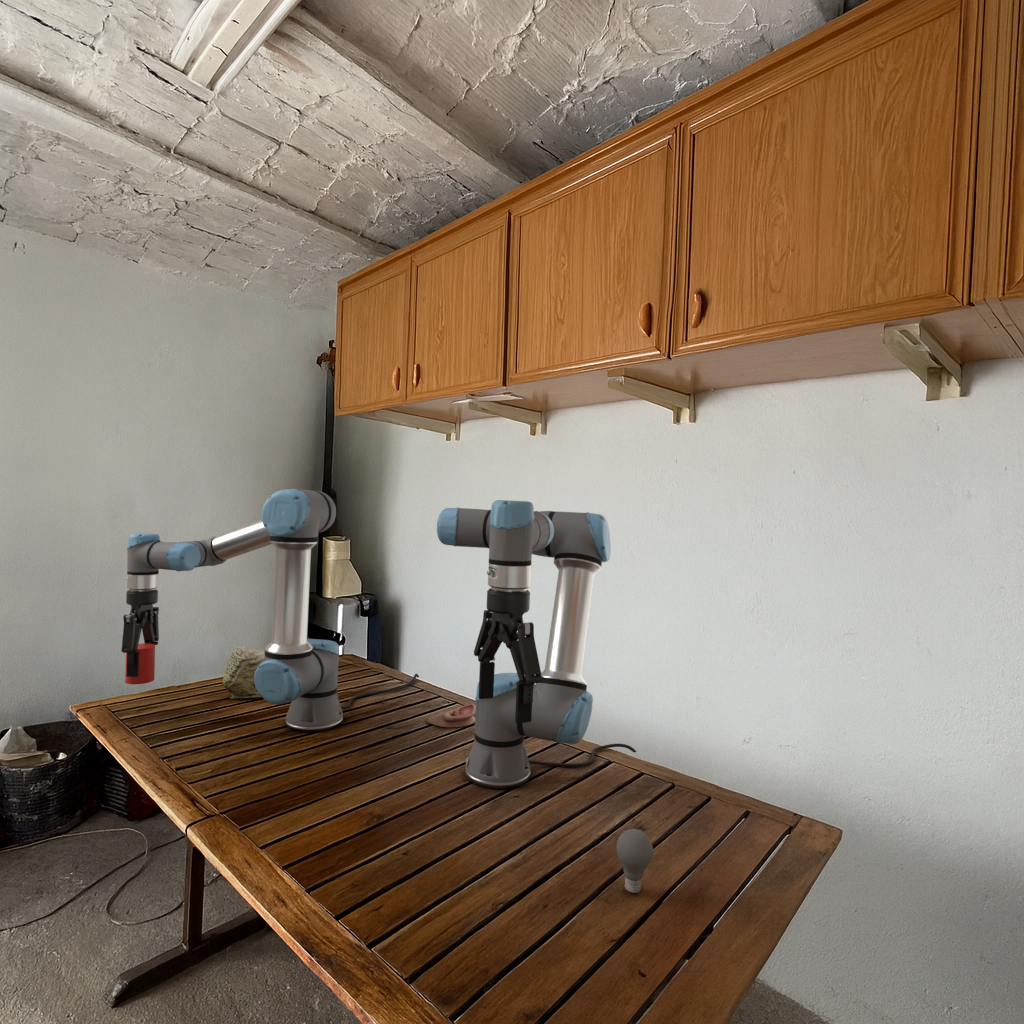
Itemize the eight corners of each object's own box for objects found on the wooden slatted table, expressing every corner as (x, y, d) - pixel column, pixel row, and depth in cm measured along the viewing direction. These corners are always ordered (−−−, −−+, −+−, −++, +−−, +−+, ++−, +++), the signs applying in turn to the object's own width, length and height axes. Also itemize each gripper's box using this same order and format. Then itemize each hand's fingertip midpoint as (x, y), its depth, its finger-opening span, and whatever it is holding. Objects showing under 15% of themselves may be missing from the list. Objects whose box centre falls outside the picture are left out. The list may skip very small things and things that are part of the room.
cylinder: (119, 684, 171) (120, 648, 171) (133, 677, 178) (134, 643, 178) (146, 684, 171) (147, 649, 171) (159, 677, 178) (160, 643, 178)
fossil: (218, 695, 195) (220, 647, 195) (278, 685, 208) (279, 640, 207) (228, 703, 189) (230, 653, 188) (289, 692, 201) (290, 645, 201)
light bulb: (610, 879, 108) (613, 822, 108) (644, 879, 109) (647, 822, 109) (619, 902, 102) (622, 840, 102) (655, 901, 103) (658, 840, 103)
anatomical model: (423, 710, 178) (436, 698, 189) (423, 725, 178) (436, 711, 189) (469, 716, 175) (479, 703, 186) (468, 730, 175) (479, 716, 186)
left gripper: (148, 584, 184) (145, 662, 184) (106, 594, 164) (104, 682, 164) (174, 585, 184) (172, 663, 185) (136, 595, 164) (133, 683, 165)
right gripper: (459, 579, 119) (454, 691, 120) (526, 600, 98) (520, 737, 98) (494, 578, 123) (489, 687, 124) (567, 599, 101) (561, 730, 102)
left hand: (140, 672), depth 174 cm, fingers closed on cylinder, 7 cm apart
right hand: (503, 709), depth 111 cm, fingers open, 13 cm apart
